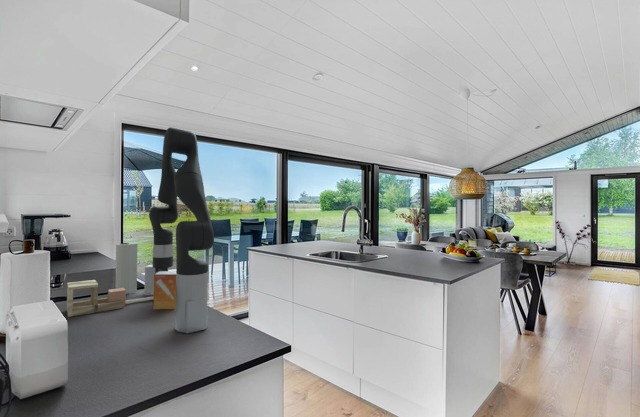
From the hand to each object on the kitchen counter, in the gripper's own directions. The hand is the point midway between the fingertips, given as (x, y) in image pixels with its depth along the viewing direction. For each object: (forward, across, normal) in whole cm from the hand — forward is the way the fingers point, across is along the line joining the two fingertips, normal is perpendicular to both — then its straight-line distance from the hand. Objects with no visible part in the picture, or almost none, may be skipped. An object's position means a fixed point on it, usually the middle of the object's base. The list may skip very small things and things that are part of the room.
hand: (162, 295), depth 132 cm
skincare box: (+2, +11, +2) cm, 11 cm away
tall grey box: (+2, +18, +10) cm, 21 cm away
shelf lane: (+1, 0, +22) cm, 22 cm away
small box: (+2, -13, +2) cm, 13 cm away
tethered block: (+1, 0, +8) cm, 9 cm away
